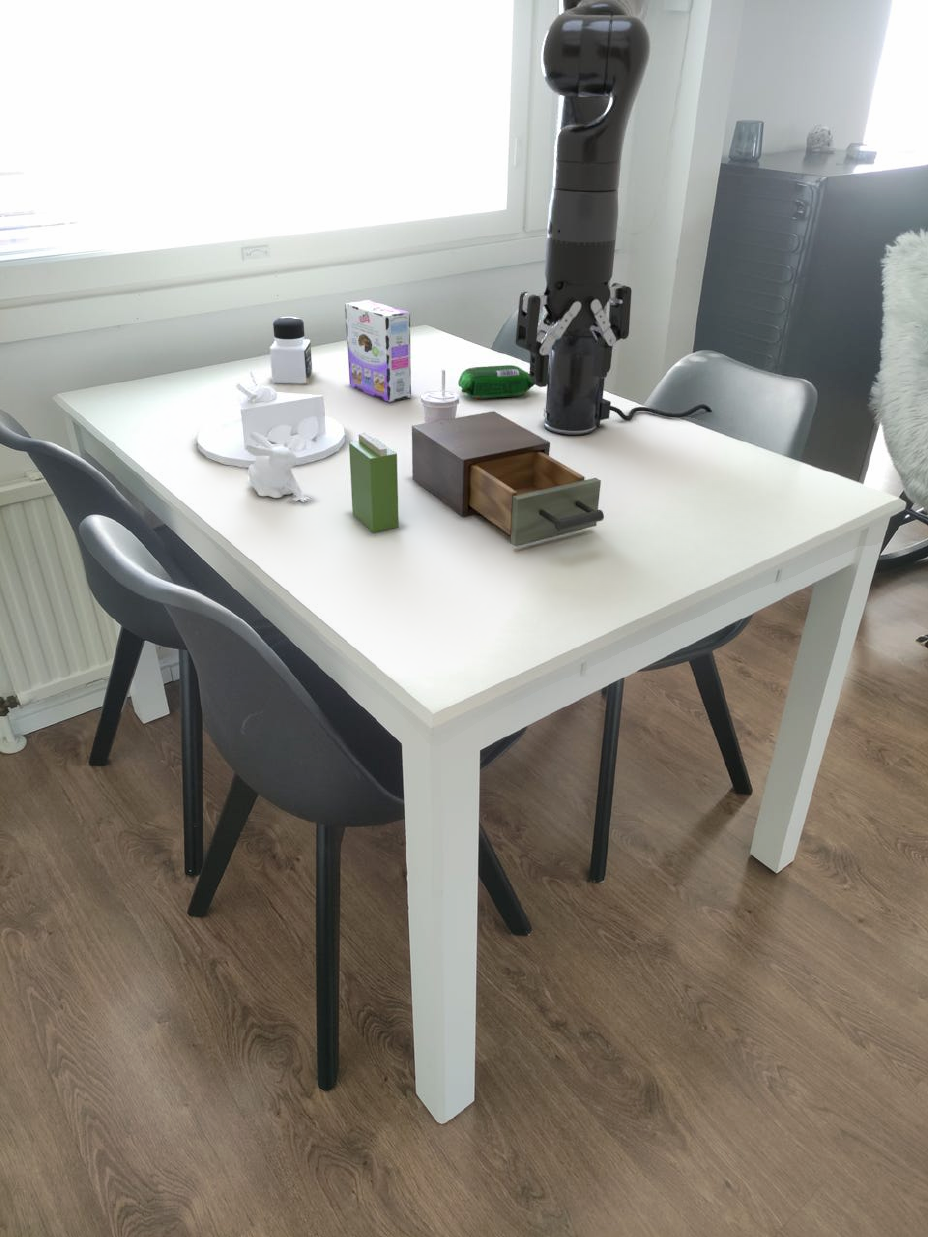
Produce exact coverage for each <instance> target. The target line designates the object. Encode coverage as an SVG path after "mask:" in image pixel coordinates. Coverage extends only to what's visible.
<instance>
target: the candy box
mask: <svg viewBox="0 0 928 1237" xmlns="http://www.w3.org/2000/svg"><path fill="white" fill-rule="evenodd" d="M344 311H345V326H346V329H345V330H346V344H347V360H348V364H347V365H348V380H349V387H350V388H352V389H356V390H358V391H360V392H363V393H366V394H367V395H370V396H373V397H374V398H377V399H380V400H382V401H384V402H387V403H391V402H396V401H401V400H406V399H411V398H412V375H411V374H412V371H411V370H412V368H411V312H410V311H406V310H402V309H399V308H396V307H394V306H393V307H392V306H389V305H386V304H383V303H379V302H376V301H373V300H370V299H365V300H359V301H352V302H346V303H344Z"/></svg>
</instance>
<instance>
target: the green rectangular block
mask: <svg viewBox="0 0 928 1237" xmlns="http://www.w3.org/2000/svg"><path fill="white" fill-rule="evenodd" d="M348 450H349V451H348V452H349V453H348V454H349V471H350V472H349V474H350V490H351V493H350V494H351V512H352V515H353V516H354V517H355V518H356V519H357V520H358V521H359V522H361V523H362V524H363V525H364V526H365V527H366V528H367V529H368V530H369V531H371V532H372V533H373V534H374V533H378V532H384V531H387V530H391V529H392V530H393V529H396V528H399V526H400V525H399V524H400V522H399V482H398V479H399V478H398V453H397V452H395V451H394V450H393V449H391V448H390V447H389V446H387V445H386V444H385V443H383V442H381V441H380V440H379V439H377V438H376V437H372V436H370V435H369V434H368V433H367V432H361V433H358V440H355V441H349V442H348Z"/></svg>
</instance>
